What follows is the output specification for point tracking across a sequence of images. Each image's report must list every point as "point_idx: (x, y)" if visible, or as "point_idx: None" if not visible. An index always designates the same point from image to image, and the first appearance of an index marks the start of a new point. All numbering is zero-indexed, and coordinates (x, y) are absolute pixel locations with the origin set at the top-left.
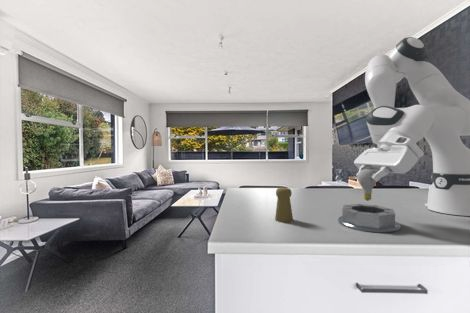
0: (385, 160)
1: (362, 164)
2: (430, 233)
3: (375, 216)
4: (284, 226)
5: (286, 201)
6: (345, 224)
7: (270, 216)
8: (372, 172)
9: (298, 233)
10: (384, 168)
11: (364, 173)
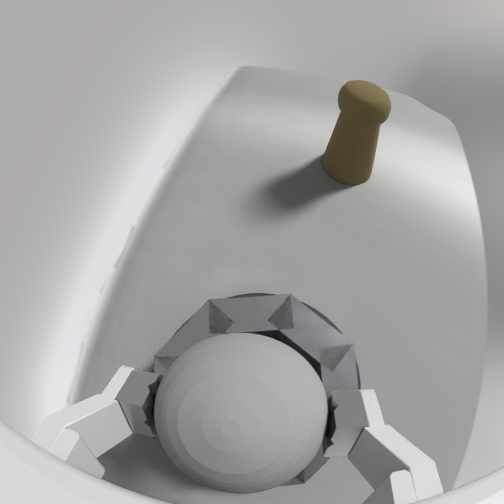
0: (5, 488)
1: (434, 497)
2: (128, 476)
3: (163, 347)
4: (291, 148)
5: (340, 120)
6: (249, 294)
7: (381, 151)
8: (157, 416)
9: (234, 156)
10: (38, 430)
11: (195, 349)
